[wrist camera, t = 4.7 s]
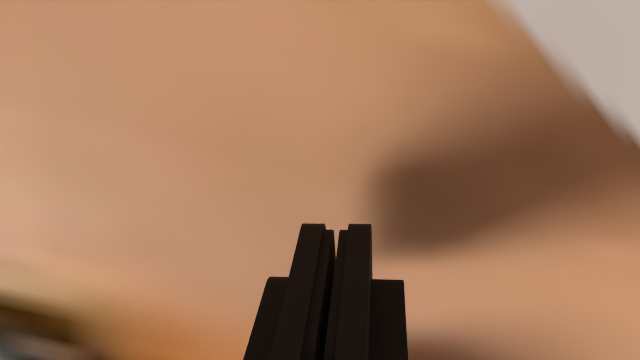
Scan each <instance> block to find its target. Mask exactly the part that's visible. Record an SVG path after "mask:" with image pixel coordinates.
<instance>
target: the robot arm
mask: <svg viewBox="0 0 640 360" xmlns="http://www.w3.org/2000/svg"><path fill="white" fill-rule="evenodd" d="M243 360H408V350H407V332H406V314H405V295H404V281H403V280H380V279H372V232H371V224H349V225H348V230H340V232H339V240H338V248H337V256H336V255H335V241H334V231H333V230H326V227H325V224H302V226H301V229H300V233H299V237H298V241H297V245H296V250H295V254H294V258H293V262H292V266H291V270H290V274H289V277H269V278H268V280H267V283H266V285H265V289H264V292H263V295H262V299H261V302H260V306H259V309H258V312H257V316H256V319H255V322H254V326H253V329H252V332H251V336H250V339H249V342H248V346H247V349H246V352H245V356H244V359H243Z"/></svg>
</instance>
